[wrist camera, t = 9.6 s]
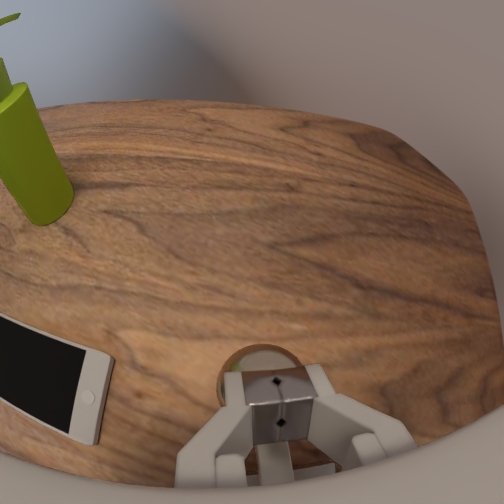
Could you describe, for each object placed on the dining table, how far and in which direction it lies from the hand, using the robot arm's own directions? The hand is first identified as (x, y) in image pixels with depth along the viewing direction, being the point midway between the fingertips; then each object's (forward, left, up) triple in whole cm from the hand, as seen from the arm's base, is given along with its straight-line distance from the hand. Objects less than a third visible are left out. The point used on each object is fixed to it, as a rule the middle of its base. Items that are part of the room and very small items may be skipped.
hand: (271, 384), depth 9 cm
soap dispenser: (+11, +24, -11) cm, 29 cm away
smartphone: (-5, +17, -11) cm, 21 cm away
